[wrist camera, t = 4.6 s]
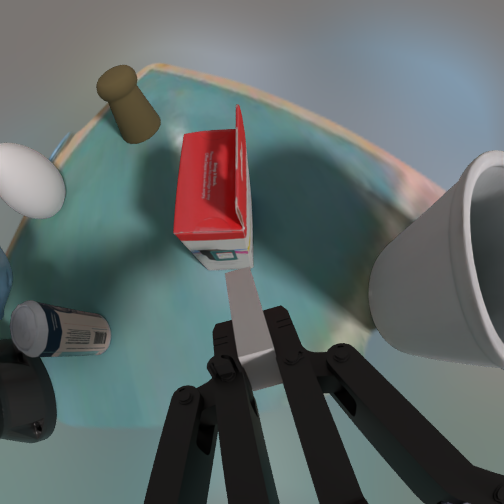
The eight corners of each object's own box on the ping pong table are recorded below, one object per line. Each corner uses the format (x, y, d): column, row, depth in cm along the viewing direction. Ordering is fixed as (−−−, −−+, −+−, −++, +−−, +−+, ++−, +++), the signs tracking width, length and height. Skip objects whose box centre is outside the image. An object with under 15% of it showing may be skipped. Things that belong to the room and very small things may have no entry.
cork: (163, 134, 34) (135, 75, 24) (123, 150, 34) (87, 98, 24) (158, 107, 36) (134, 52, 26) (121, 122, 36) (91, 72, 25)
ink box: (208, 197, 31) (171, 106, 17) (252, 195, 31) (242, 98, 17) (206, 272, 29) (154, 216, 15) (255, 270, 29) (243, 210, 15)
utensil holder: (438, 381, 24) (554, 398, 7) (336, 326, 27) (431, 313, 10) (477, 270, 27) (576, 223, 10) (389, 210, 30) (470, 112, 13)
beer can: (99, 305, 28) (27, 286, 17) (120, 339, 27) (47, 337, 16) (75, 328, 28) (1, 319, 16) (94, 362, 27) (20, 367, 15)
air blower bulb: (86, 185, 33) (6, 105, 16) (62, 236, 31) (-35, 175, 14) (55, 176, 34) (-17, 109, 17) (33, 222, 32) (-51, 168, 15)
